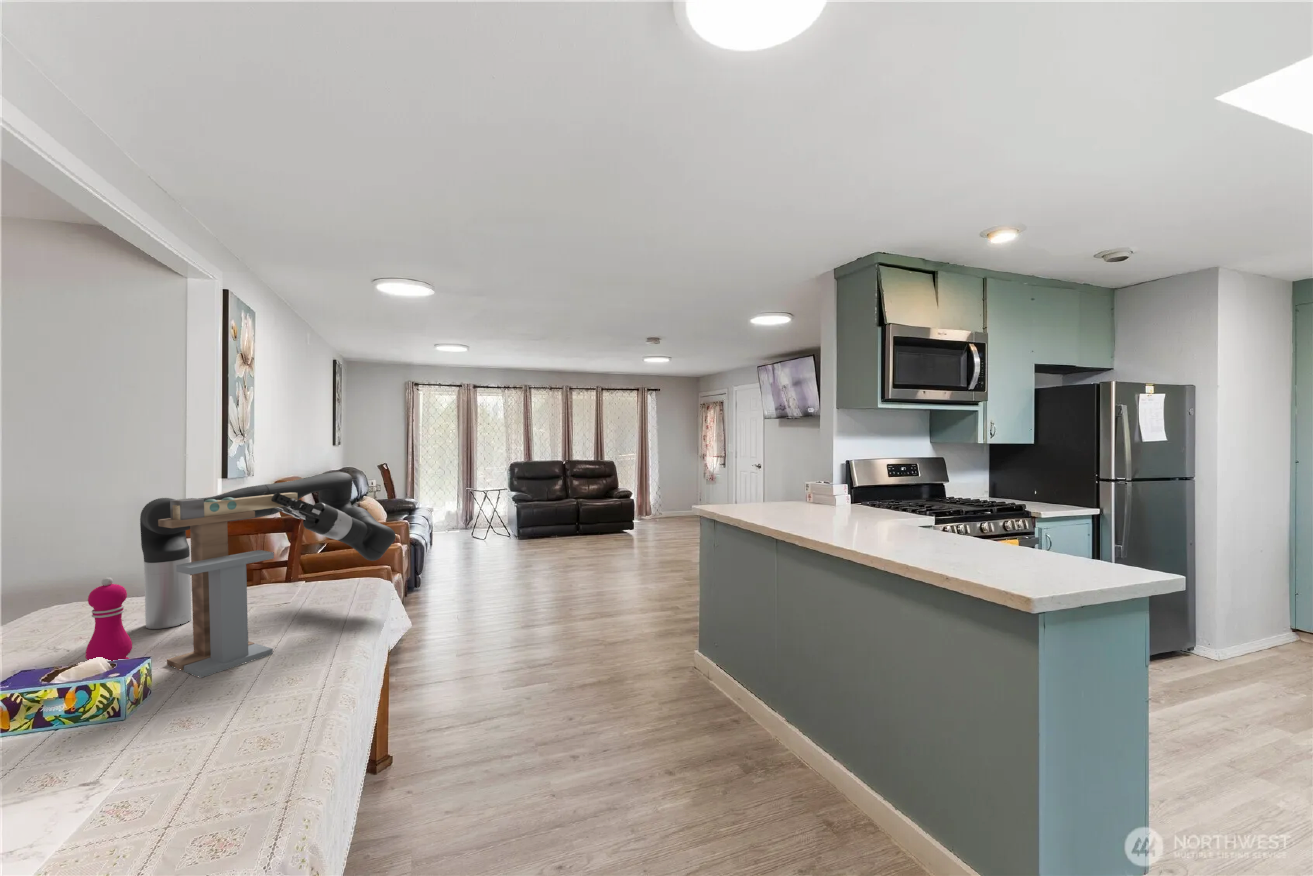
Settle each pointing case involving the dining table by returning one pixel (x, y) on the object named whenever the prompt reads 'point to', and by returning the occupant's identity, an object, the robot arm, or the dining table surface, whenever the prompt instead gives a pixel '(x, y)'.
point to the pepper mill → (108, 622)
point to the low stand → (227, 611)
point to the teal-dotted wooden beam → (221, 506)
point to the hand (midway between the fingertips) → (268, 496)
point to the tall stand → (203, 576)
